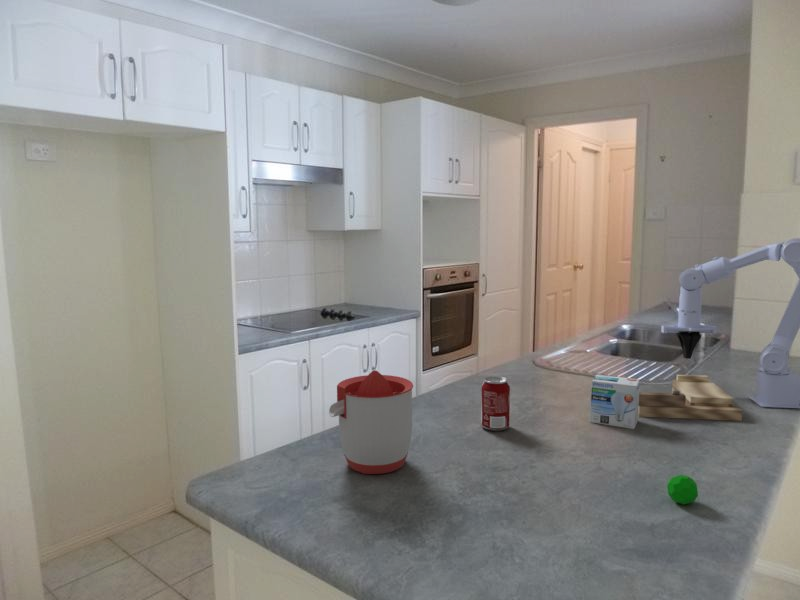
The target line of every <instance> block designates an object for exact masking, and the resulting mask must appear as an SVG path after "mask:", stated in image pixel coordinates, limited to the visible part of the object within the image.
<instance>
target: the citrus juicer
mask: <svg viewBox="0 0 800 600" xmlns="http://www.w3.org/2000/svg"><path fill="white" fill-rule="evenodd" d="M413 388H414V384H413V382H412V381H411V380H410V379H407V378H406V377H405V378H404V377H400V376H397V375H390V374H389V375H386V374H381V372H379V371H378V370H372V371H371V372H370V373H369V374H367V375H366V374H365V375H360V376H354V377H349V378H346V379H344V380H342V381H340V382H338V384H337V385H336V402H334V403H332V404H331V405H330V407H329V410H328V414H329V417H331V418H334V417H335V418H336V417H338V430H339V431H338V432H339V439H340V444H341V447H342V451H343V452H344V455H343V456H344V457H345V460H346V462H347V464H348V466H349V467H350V469H352V470H353V471H356V472H358V473H361V474H363V475H370V474H371V475H375V474H376V475H380V474H381V475H382V474H387V473H392V472H395V471H396V470H397V471H398V470H399V469H400V468H402V466H403V465H404V464H405V461H406V459H407V457H408V454H409V449H410V446H411V440H412V435H413Z"/></svg>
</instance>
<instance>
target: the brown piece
mask: <svg viewBox="0 0 800 600" xmlns="http://www.w3.org/2000/svg"><path fill="white" fill-rule="evenodd" d="M673 391H678V390H677V389H676V388H675V387H674V386H673V385H672V386H671V393H673ZM680 394H681V393H680ZM638 417H644V418H645V417H647V418H670V419H689V420H690V419H694V420H695V419H696V420H715V421H739V422H740V421H742V419H743V410H742V409H741V408H740V407H739V406H738V407H737V406H736V407H735V406H734V403H733V404H712V403H690V402H689V401H688V400H687V399H686V401H685V408H682V407H657V406H638Z"/></svg>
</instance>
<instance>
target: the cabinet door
mask: <svg viewBox="0 0 800 600" xmlns="http://www.w3.org/2000/svg"><path fill="white" fill-rule="evenodd" d="M685 401H686V396H685V395H684V394H680V391H673V393H672V392H647V391H646V392H645V391H639V406H657V407H682V408H685Z"/></svg>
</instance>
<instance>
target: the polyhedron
mask: <svg viewBox="0 0 800 600" xmlns="http://www.w3.org/2000/svg"><path fill="white" fill-rule="evenodd" d="M666 485H667V486H666V488H667V494H668V496H669V497H670V499H671V500H672V501H674V502H675V503H678V504H681V505H686V504H690V503H692V502H696V500H697V498H698V496H699V491H698V486H697V483H696V482H695V481H694V479H693V478H691V477H690V476H688V475H685V474H679V475H676V476H673V477H671V478H670V479H669V480H668V482H667V483H666Z"/></svg>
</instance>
